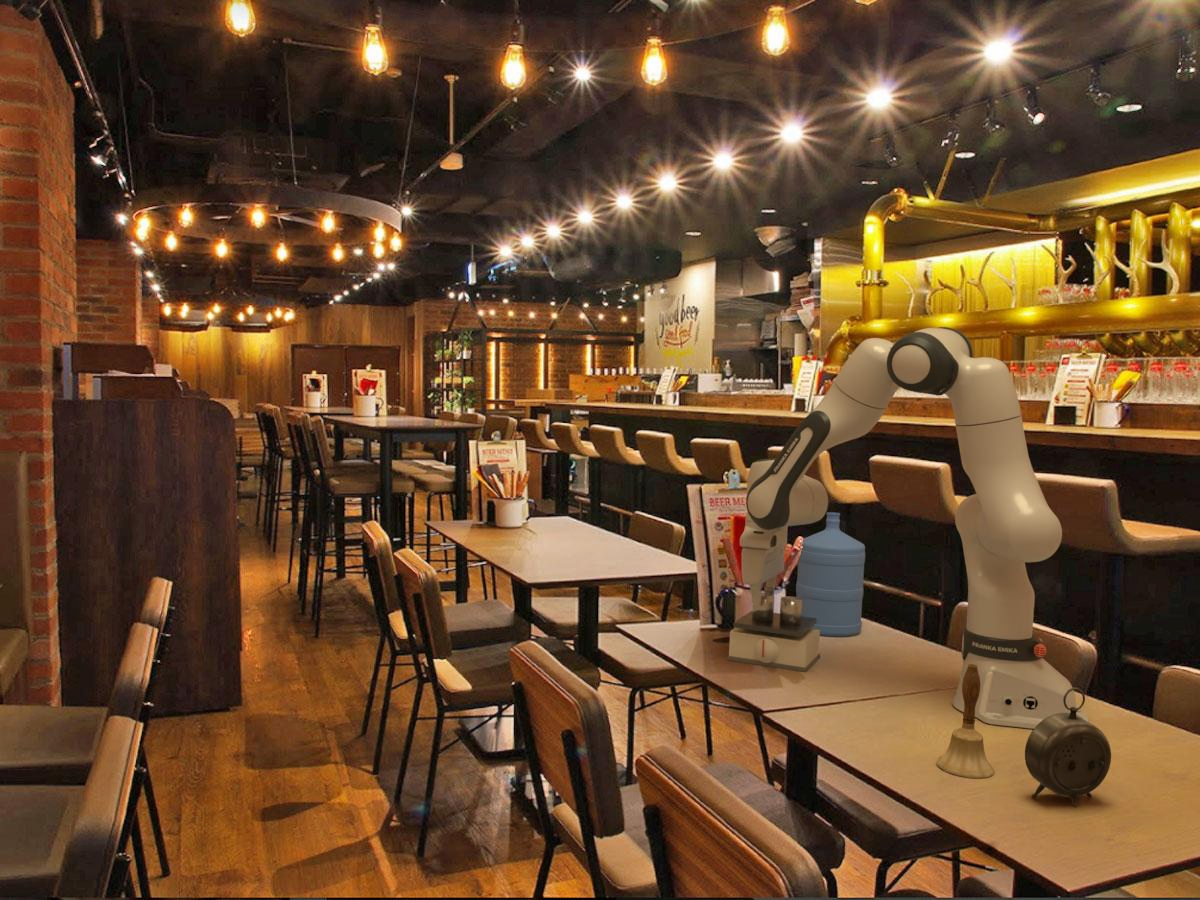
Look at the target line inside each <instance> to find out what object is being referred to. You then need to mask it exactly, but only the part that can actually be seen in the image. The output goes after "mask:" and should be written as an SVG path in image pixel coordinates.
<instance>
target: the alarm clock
mask: <svg viewBox="0 0 1200 900" xmlns="http://www.w3.org/2000/svg"><path fill="white" fill-rule="evenodd" d="M1072 690H1074V691H1078V692H1079V693H1080V694H1081V696H1082V701H1081V704H1080V706H1076V707H1078V708H1076V707H1071V708H1068V707H1067V705H1066V697H1067V695H1068V693H1069V692H1071V691H1072ZM1063 701H1064V706H1065V707H1066V708H1067V709H1068V710H1070V711H1071V712H1070V713H1058V714H1054V715H1051V716H1049V717H1047V718H1045V719H1044V720H1042V721H1041V722H1040V723H1039V724H1038V725H1037V726H1036V727H1035V728H1034V729H1032V731H1031V733H1030V734H1029V736H1028V738H1027V740H1026V742H1025V743H1026V744H1025V746H1024V747H1025V749H1024V761H1025V762H1024V763H1025V766H1026V768H1027V771H1028V772H1029V774H1030V775H1031V777H1032V778H1033V779H1034V780H1035V781H1037V782H1038V783H1039V785H1038V786H1037V787H1036V790H1035V791H1034V793H1033V794H1031V798H1032V799H1034V800H1035V799H1036V798H1037V797H1038V795H1039V794H1041V792H1042V791H1044V789H1045V788H1046V789H1048V790H1049V791H1051V792H1052V793H1053V794H1055V795H1058V796H1060V797H1063V798H1064V797H1065V798H1071V803H1072V806H1073V807H1075V808H1078V800H1077V798H1078V797H1082V796H1086V797H1087V798H1089V799H1090V798H1091V797H1092V794H1091V792H1093V791H1095V789H1097V788H1098V787H1099V786H1100V785H1101V784H1102V782H1104V780H1105V778H1106V776H1107V775H1108V773H1109V770H1110V767H1111V763H1112V750H1111V746H1110V745H1111V744H1110V743H1109V740H1108V738H1107V736H1106V735H1105V733H1104V732H1103V731H1102V730H1100V729H1099V728H1098V727H1097V726H1096V725H1094V724H1092V723H1090V721H1089V722H1087V721H1086V720H1084V719H1083V718H1081V717H1080V716H1078V715H1076V712H1077V711H1078V710H1079V709H1082V707H1084V705H1085V703H1086V702H1085V701H1086V696H1085V693H1084V692H1083V690H1082V689H1080V688H1079V687H1072V688H1071V689H1069V690H1068V691H1067V692H1066V693H1065V695H1064V699H1063Z"/></svg>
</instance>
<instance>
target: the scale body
mask: <svg viewBox="0 0 1200 900" xmlns="http://www.w3.org/2000/svg"><path fill="white" fill-rule="evenodd" d="M820 636H821V635H820V630H817V629H809V630H808V631H807V632H805V633H804V634H803V635H802V636H801V637H799V636H792V635H784V634H777V633H770V632H763V631H756V630H749V629H742V628H734V627H733V629H731V630H730V631H729V647H728V649H729V650H728V654H727V656H726V660H727V661H733V662H740V663H744V664H745V663H746V664H752V665H759V666H765V667H771V668H779V669H785V670H791V671H798V672H804V673H806V672H808V671H809V669H811V668H812V667H813V665H815V664H816V662H818V660H820V659H821V653H819V652H820Z"/></svg>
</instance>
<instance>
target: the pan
mask: <svg viewBox="0 0 1200 900" xmlns="http://www.w3.org/2000/svg"><path fill="white" fill-rule="evenodd" d="M752 611H753V609H752V610H751V611H749V612H748V613H746V614H744V615H743V616H741V617H740V618H739V619H737V620H735V621H734V622H733V629H734V628H742V629H749V630H756V631H763V632H770V633H777V634H784V635H792V636H799V637H801V636H802V635H803V634H804V633H805V632H807V631H808V630H809V629H810V628H811V627H812V626H814V625H815V624H816V623H817V618H810V617H803V616H801V624H799V625H788V624H783V623H780V612H779V613H778V612H774V614H773V620H772V621H758V620H754V619H752Z"/></svg>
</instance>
